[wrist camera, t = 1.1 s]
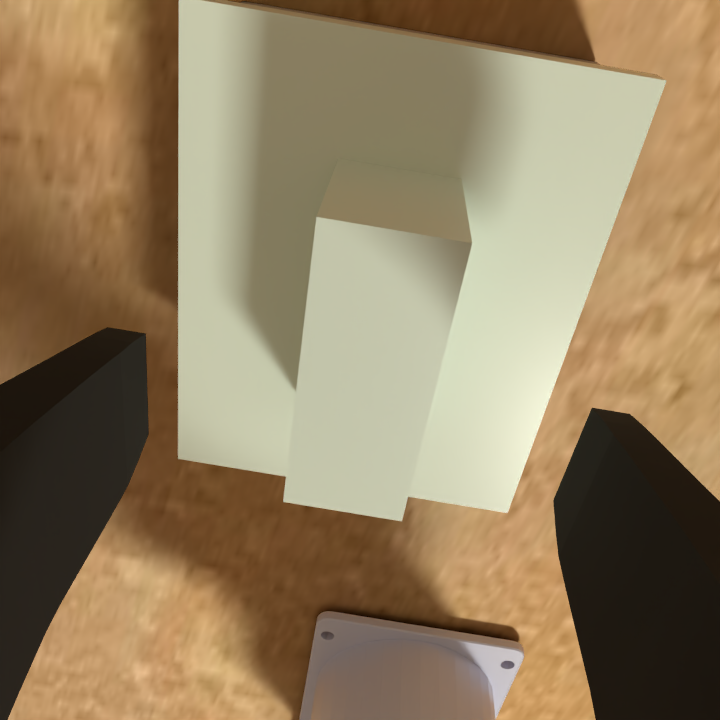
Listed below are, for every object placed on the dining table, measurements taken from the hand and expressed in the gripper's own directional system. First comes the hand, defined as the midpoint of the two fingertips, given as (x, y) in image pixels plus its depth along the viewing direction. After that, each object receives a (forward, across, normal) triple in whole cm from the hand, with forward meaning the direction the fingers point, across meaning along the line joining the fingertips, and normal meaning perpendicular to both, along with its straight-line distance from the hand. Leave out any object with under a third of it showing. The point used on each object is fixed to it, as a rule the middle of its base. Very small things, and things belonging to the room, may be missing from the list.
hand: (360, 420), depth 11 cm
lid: (+5, 0, 0) cm, 5 cm away
